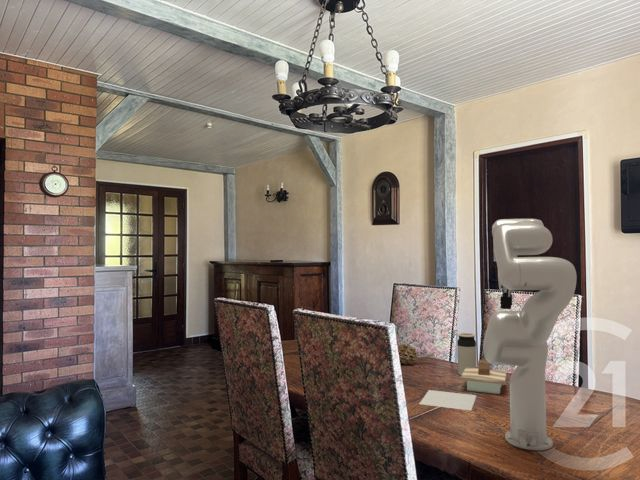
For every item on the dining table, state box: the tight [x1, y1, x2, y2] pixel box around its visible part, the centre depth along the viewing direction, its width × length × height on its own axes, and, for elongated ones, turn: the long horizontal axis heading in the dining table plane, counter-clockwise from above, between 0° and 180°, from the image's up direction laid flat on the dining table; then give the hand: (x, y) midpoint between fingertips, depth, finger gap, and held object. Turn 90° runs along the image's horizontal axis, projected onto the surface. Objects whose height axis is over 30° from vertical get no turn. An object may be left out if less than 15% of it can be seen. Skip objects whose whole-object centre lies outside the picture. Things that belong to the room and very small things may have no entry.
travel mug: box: [456, 332, 477, 377], centre depth 206 cm, size 8×8×18 cm
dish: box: [466, 381, 502, 395], centre depth 184 cm, size 12×12×5 cm
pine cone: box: [397, 343, 435, 365], centre depth 226 cm, size 22×10×10 cm, turn 90°
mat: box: [418, 389, 477, 412], centre depth 170 cm, size 18×18×1 cm
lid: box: [460, 359, 508, 385], centre depth 184 cm, size 16×16×6 cm
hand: (506, 307), depth 157 cm, fingers open, 9 cm apart
